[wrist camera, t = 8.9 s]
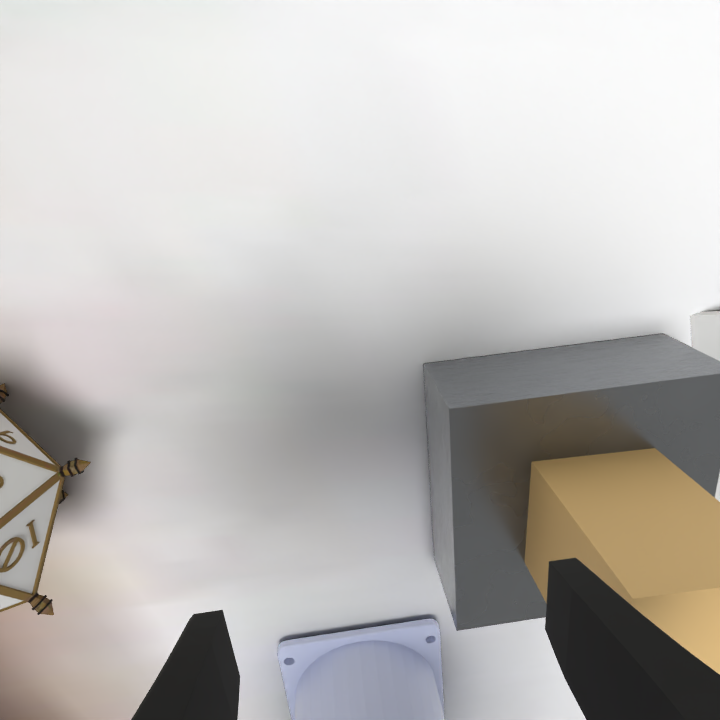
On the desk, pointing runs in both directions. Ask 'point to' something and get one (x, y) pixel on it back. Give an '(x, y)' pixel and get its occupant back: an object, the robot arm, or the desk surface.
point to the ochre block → (633, 538)
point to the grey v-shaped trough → (707, 343)
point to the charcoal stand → (549, 448)
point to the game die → (27, 512)
